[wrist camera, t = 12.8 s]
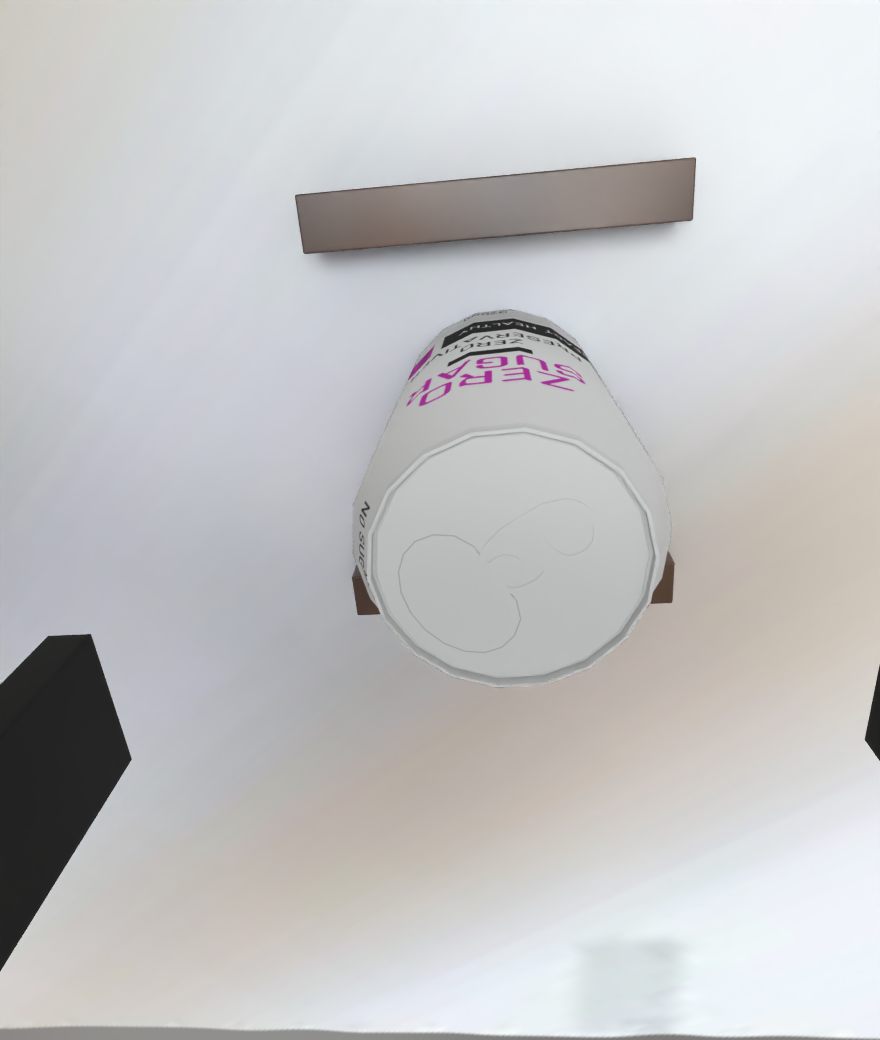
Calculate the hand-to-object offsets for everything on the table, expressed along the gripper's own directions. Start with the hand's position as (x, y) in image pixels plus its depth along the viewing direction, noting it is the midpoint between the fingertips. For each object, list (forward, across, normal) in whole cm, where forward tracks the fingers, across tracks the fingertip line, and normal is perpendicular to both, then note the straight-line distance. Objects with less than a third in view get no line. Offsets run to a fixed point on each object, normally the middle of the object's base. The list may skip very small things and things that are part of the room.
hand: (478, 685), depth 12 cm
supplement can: (+21, +1, -1) cm, 21 cm away
